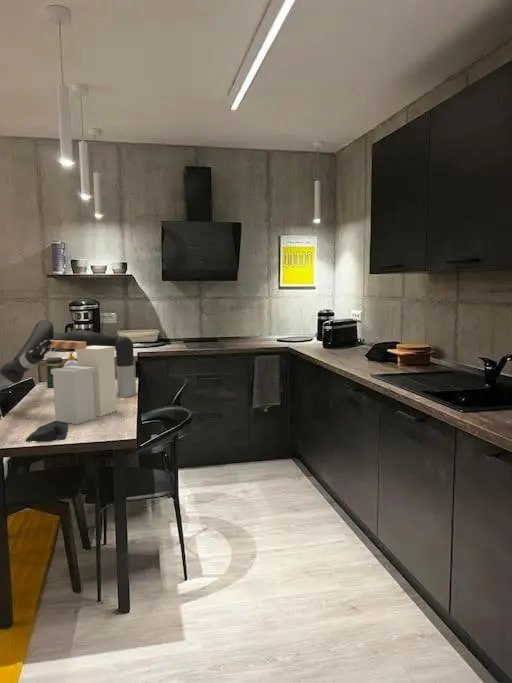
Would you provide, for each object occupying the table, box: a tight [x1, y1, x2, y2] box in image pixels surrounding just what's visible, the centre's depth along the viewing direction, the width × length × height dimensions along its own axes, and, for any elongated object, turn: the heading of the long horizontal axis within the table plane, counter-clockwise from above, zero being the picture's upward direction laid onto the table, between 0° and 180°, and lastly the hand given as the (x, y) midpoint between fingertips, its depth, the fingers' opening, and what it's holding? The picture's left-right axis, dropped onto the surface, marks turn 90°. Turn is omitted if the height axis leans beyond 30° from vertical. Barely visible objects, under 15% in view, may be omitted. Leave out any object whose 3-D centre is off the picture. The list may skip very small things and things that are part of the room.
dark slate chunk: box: [25, 420, 69, 443], centre depth 210 cm, size 15×22×5 cm
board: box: [44, 340, 86, 350], centre depth 230 cm, size 22×4×3 cm, turn 65°
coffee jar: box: [45, 356, 64, 389], centre depth 315 cm, size 10×8×19 cm
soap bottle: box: [63, 351, 77, 367], centre depth 304 cm, size 9×7×23 cm
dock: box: [51, 366, 96, 425], centre depth 231 cm, size 14×12×24 cm
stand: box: [74, 346, 118, 417], centre depth 244 cm, size 14×12×32 cm
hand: (53, 340), depth 233 cm, fingers closed on board, 4 cm apart
